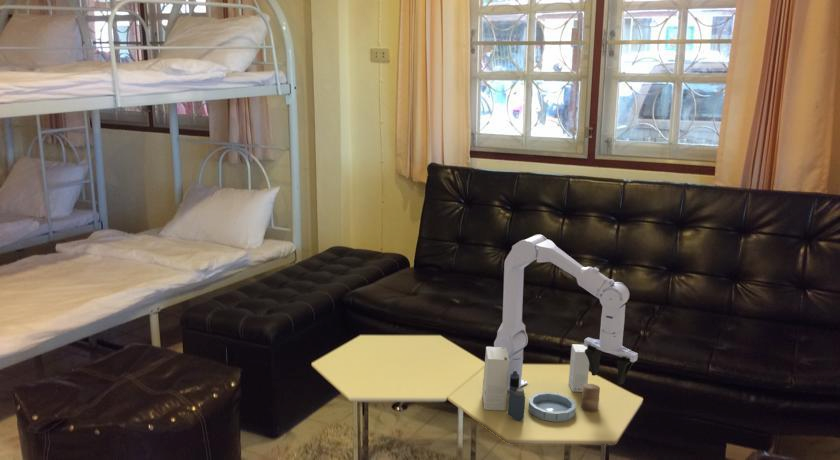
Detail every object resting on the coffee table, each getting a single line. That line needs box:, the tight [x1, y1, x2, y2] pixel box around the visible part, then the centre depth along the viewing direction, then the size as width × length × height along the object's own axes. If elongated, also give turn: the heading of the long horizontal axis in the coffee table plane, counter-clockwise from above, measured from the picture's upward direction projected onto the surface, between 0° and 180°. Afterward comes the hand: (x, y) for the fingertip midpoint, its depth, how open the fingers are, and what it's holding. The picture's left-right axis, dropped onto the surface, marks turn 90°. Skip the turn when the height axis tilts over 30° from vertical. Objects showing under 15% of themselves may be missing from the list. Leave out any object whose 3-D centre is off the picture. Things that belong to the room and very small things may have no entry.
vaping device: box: [507, 371, 526, 422], centre depth 183 cm, size 3×5×12 cm, turn 27°
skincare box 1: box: [481, 346, 510, 411], centre depth 189 cm, size 8×6×15 cm
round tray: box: [528, 391, 577, 423], centre depth 188 cm, size 12×12×2 cm
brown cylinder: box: [580, 383, 601, 413], centre depth 190 cm, size 4×4×6 cm
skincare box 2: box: [568, 343, 590, 393], centre depth 201 cm, size 6×4×12 cm
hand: (607, 379), depth 186 cm, fingers open, 7 cm apart
